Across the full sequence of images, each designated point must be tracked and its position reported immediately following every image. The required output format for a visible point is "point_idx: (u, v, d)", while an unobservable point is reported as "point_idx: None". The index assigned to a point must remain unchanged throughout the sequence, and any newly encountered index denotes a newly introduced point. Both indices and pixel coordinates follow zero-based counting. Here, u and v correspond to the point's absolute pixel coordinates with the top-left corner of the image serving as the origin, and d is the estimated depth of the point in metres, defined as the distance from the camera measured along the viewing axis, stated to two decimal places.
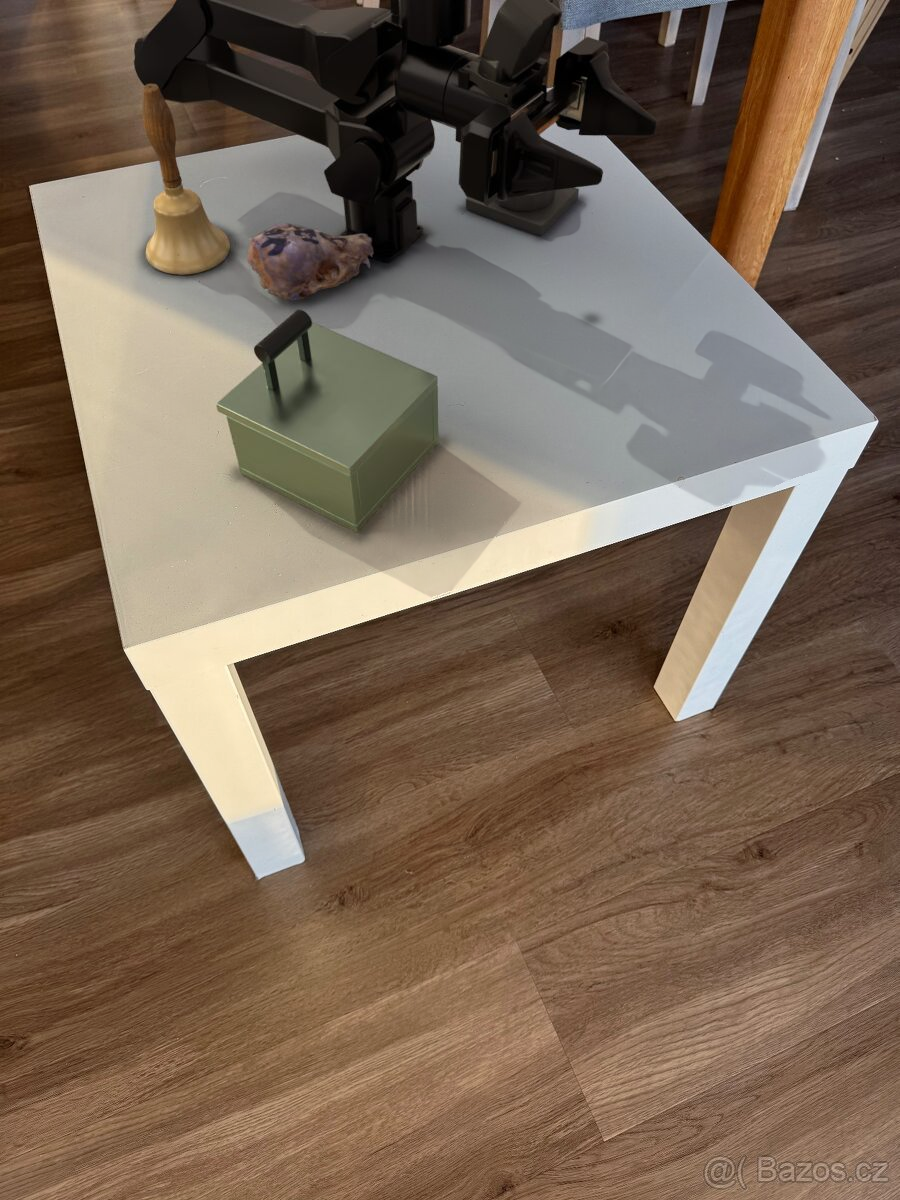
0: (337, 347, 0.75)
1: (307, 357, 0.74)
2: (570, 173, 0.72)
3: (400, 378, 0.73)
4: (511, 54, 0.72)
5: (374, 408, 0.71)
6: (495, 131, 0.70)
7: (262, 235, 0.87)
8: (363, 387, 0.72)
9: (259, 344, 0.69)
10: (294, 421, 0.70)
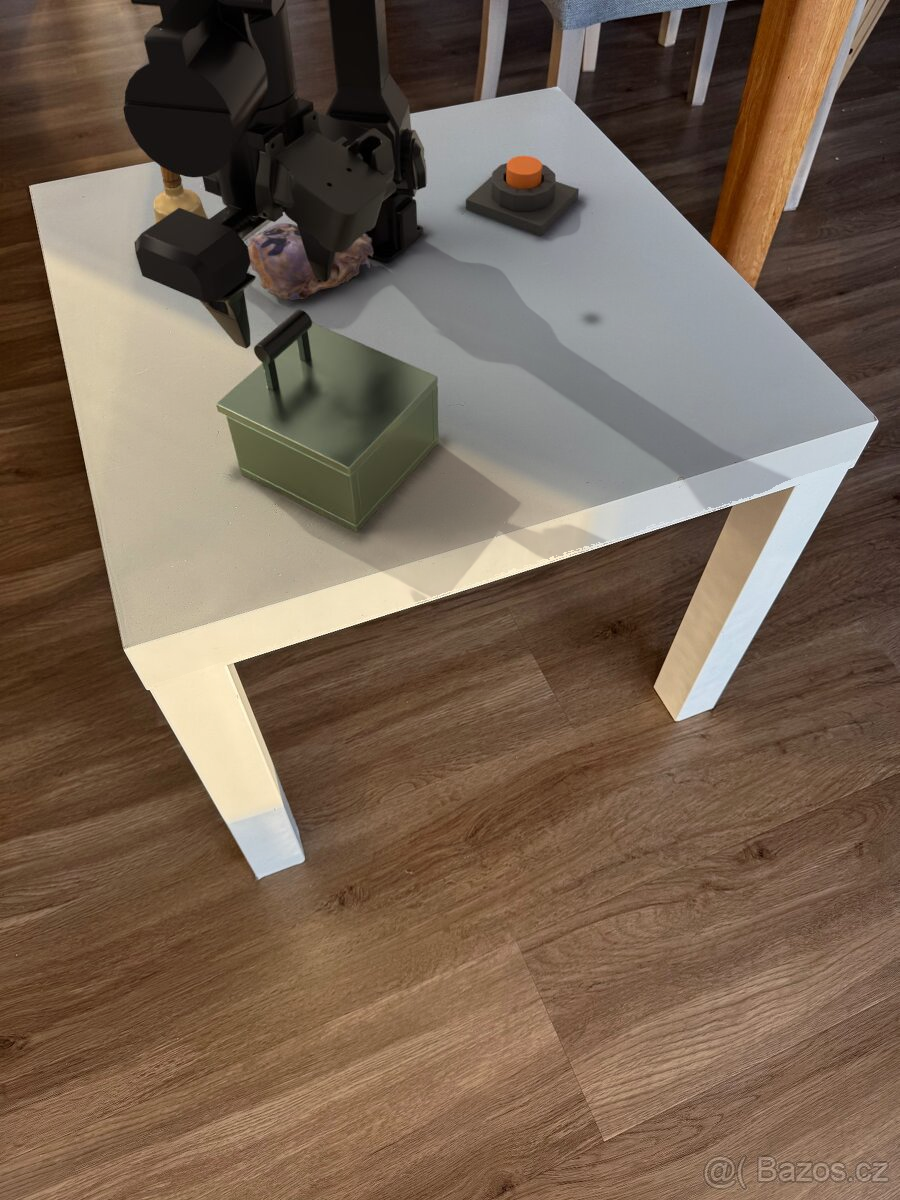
0: (337, 347, 0.75)
1: (307, 357, 0.74)
2: (228, 325, 0.64)
3: (400, 378, 0.73)
4: (306, 222, 0.58)
5: (374, 408, 0.71)
6: None
7: (262, 235, 0.87)
8: (363, 387, 0.72)
9: (259, 344, 0.69)
10: (294, 421, 0.70)
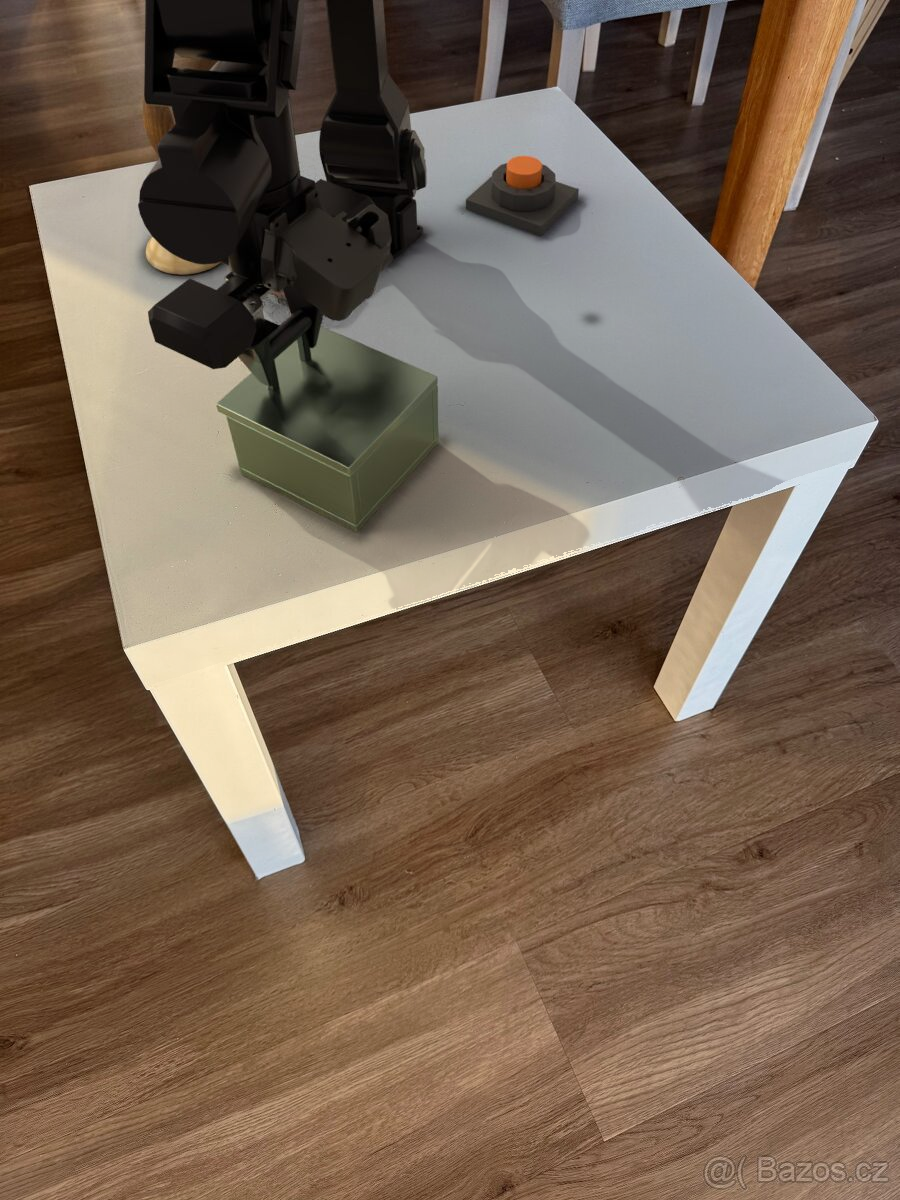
0: (337, 347, 0.75)
1: (307, 357, 0.74)
2: (253, 366, 0.69)
3: (400, 378, 0.73)
4: (308, 293, 0.62)
5: (374, 408, 0.71)
6: None
7: None
8: (363, 387, 0.72)
9: None
10: (294, 421, 0.70)
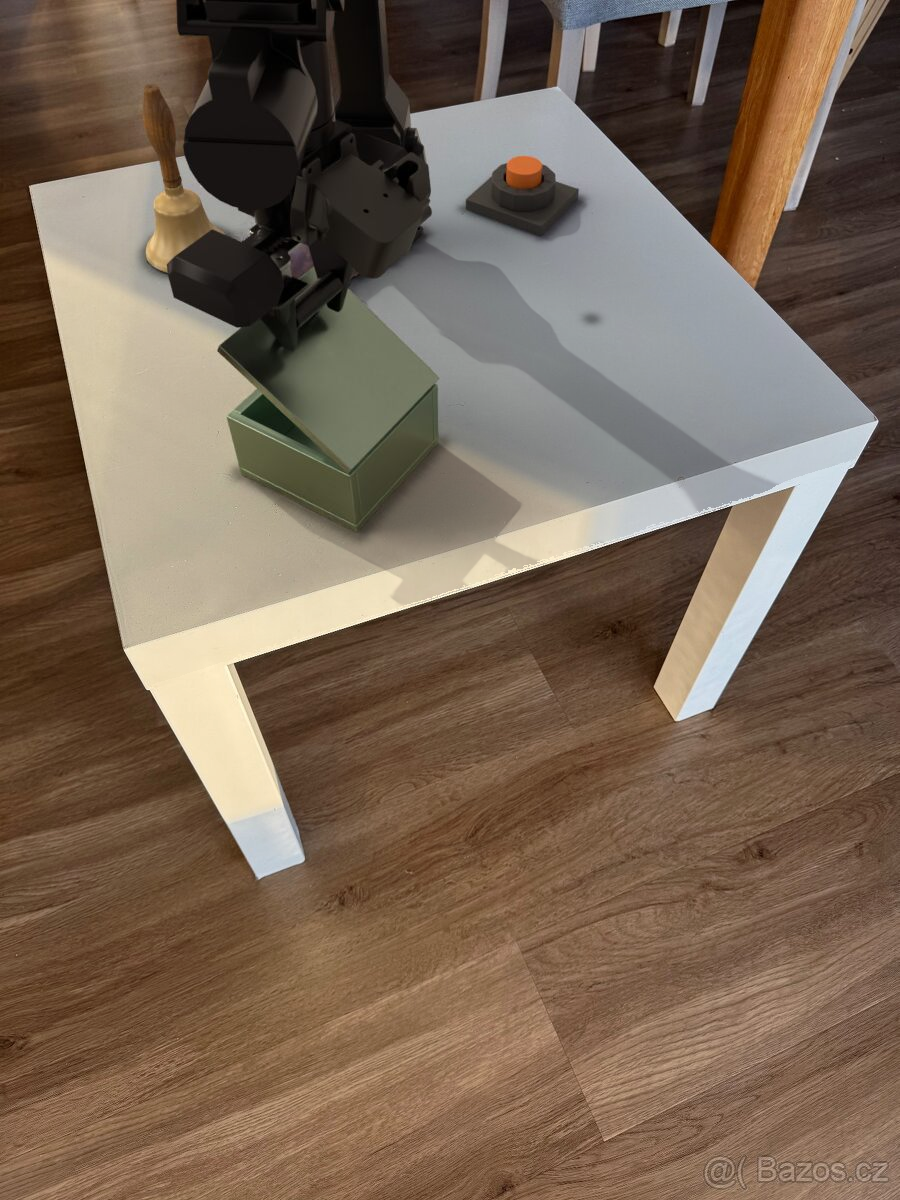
0: (347, 307, 0.71)
1: (318, 313, 0.69)
2: (277, 328, 0.65)
3: (405, 369, 0.72)
4: (340, 248, 0.57)
5: (379, 400, 0.70)
6: None
7: None
8: (370, 370, 0.70)
9: None
10: (300, 393, 0.67)
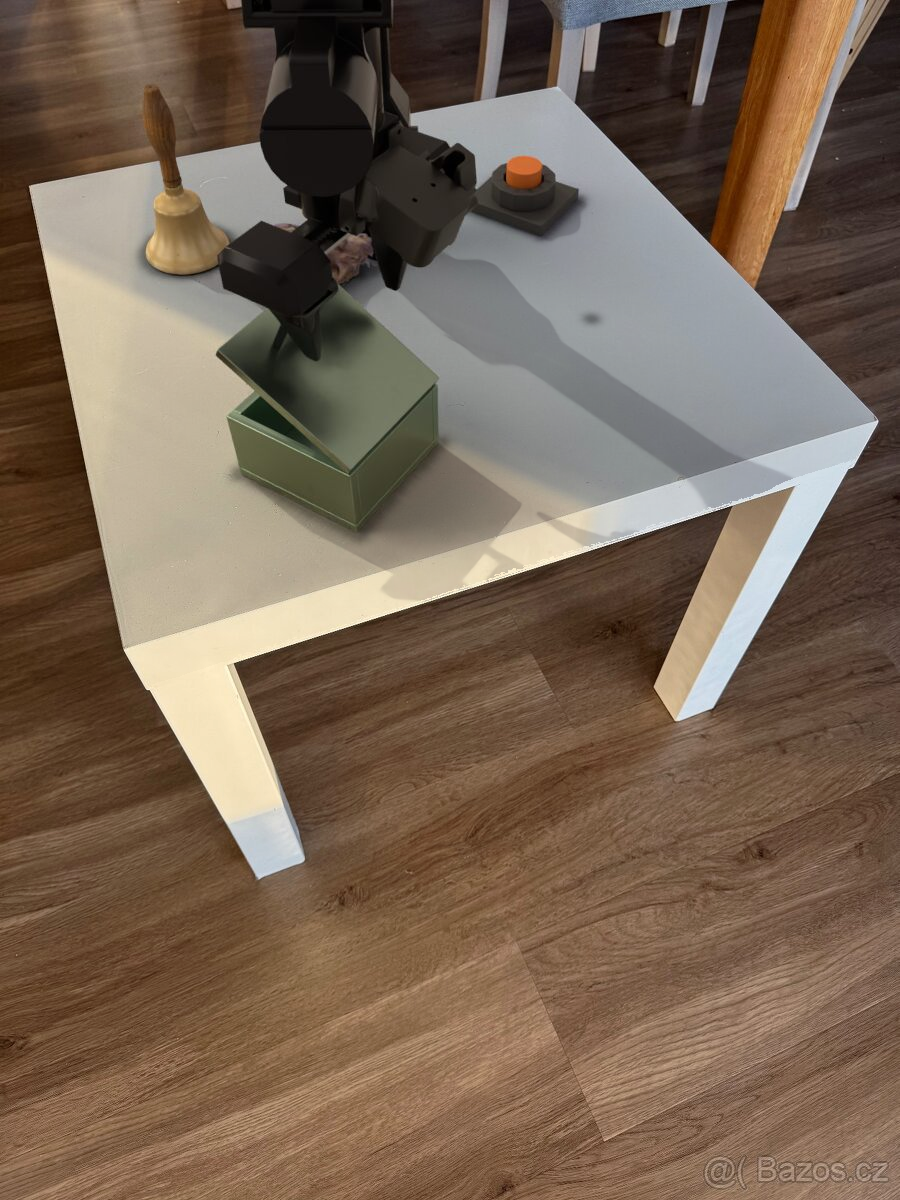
0: (345, 310, 0.71)
1: None
2: (301, 338, 0.64)
3: (404, 370, 0.72)
4: (389, 237, 0.58)
5: (378, 401, 0.70)
6: None
7: None
8: (369, 371, 0.71)
9: None
10: (298, 395, 0.67)
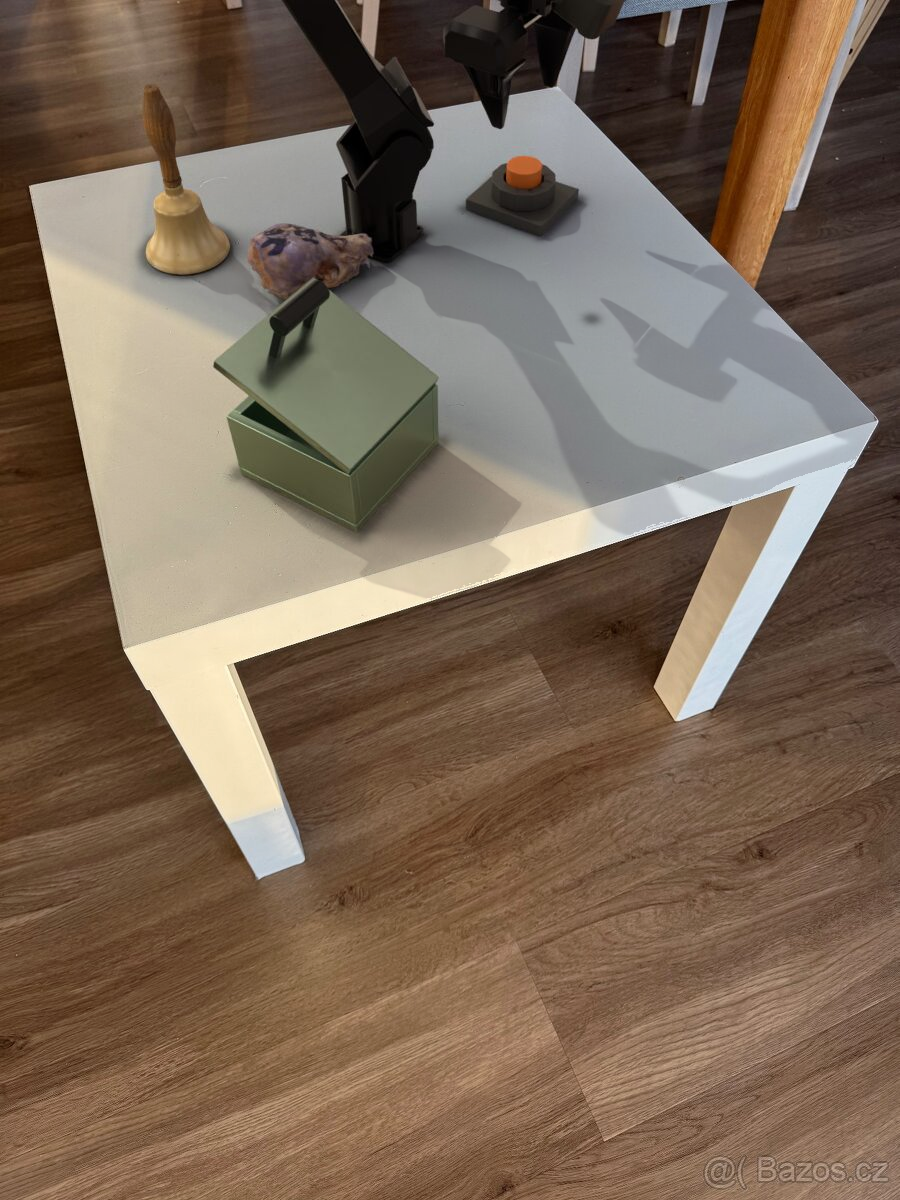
0: (341, 318, 0.72)
1: (311, 324, 0.71)
2: (492, 106, 0.85)
3: (403, 371, 0.72)
4: (570, 15, 0.78)
5: (377, 402, 0.70)
6: None
7: (262, 235, 0.87)
8: (366, 374, 0.71)
9: (278, 316, 0.65)
10: (296, 400, 0.68)
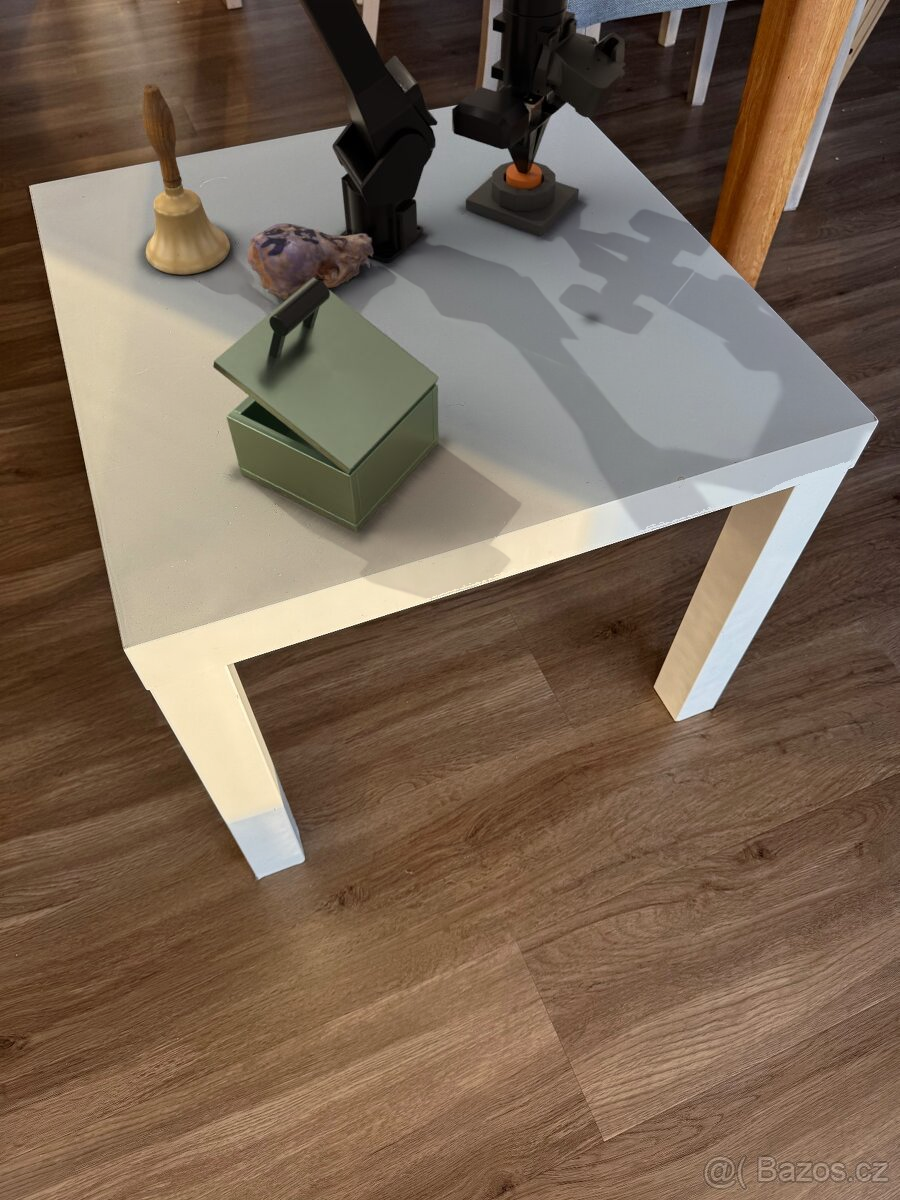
0: (341, 318, 0.72)
1: (311, 324, 0.71)
2: (519, 154, 0.94)
3: (403, 371, 0.72)
4: (568, 96, 0.86)
5: (377, 402, 0.70)
6: None
7: (262, 235, 0.87)
8: (366, 374, 0.71)
9: (278, 316, 0.65)
10: (296, 400, 0.68)
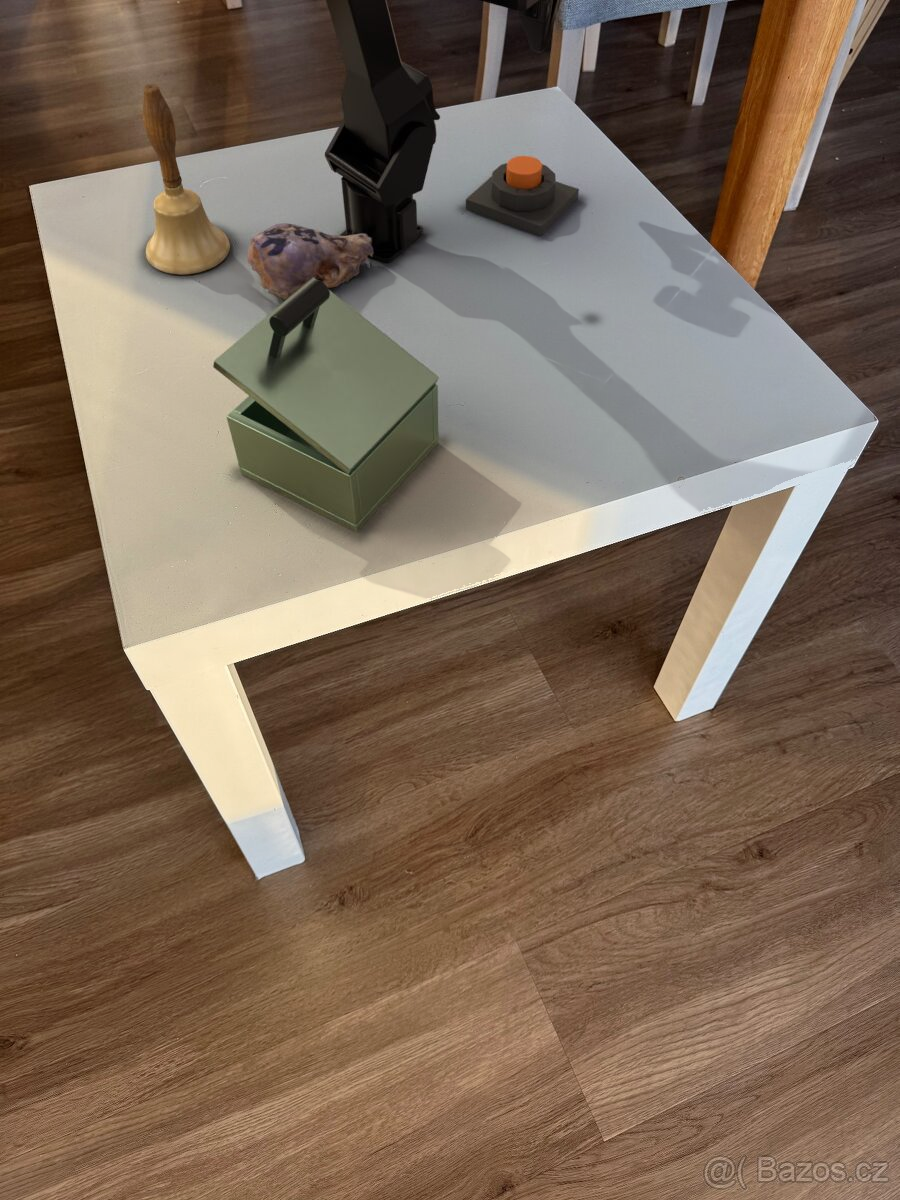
0: (341, 318, 0.72)
1: (311, 324, 0.71)
2: (534, 30, 0.92)
3: (403, 371, 0.72)
4: None
5: (377, 402, 0.70)
6: None
7: (262, 235, 0.87)
8: (366, 374, 0.71)
9: (278, 316, 0.65)
10: (296, 400, 0.68)
